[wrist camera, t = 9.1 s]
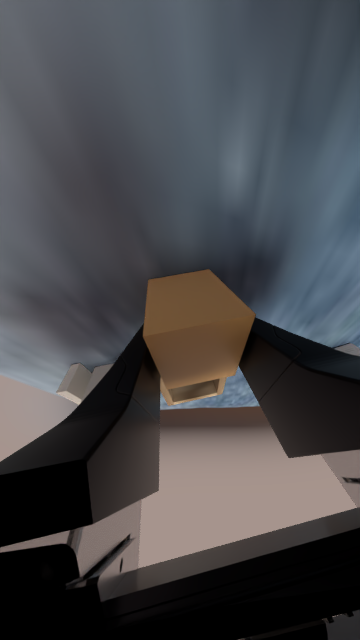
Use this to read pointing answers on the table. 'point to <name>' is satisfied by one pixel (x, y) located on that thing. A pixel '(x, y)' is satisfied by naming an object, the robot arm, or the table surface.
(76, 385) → the clip
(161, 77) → the table surface
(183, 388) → the holder
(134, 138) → the table surface
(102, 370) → the block
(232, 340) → the orange block
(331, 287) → the table surface
